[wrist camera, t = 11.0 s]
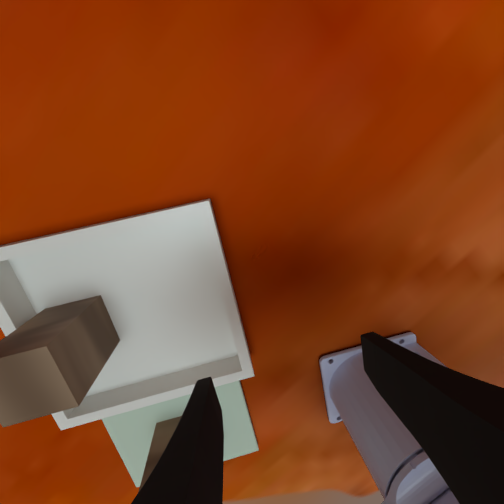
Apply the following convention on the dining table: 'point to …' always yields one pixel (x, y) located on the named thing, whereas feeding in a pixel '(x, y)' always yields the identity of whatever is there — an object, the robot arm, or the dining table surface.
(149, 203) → the dining table surface
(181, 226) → the parts tray
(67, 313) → the plain block
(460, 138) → the dining table surface
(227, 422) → the sage mat
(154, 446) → the labelled block
